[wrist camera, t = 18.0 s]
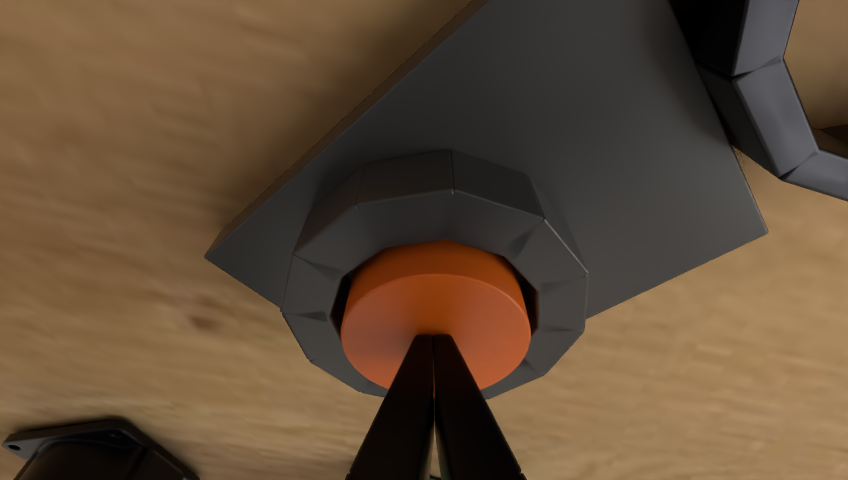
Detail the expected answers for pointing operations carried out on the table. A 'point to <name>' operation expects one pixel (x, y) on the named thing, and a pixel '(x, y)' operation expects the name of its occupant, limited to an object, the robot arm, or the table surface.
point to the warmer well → (762, 90)
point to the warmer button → (435, 309)
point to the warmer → (509, 174)
